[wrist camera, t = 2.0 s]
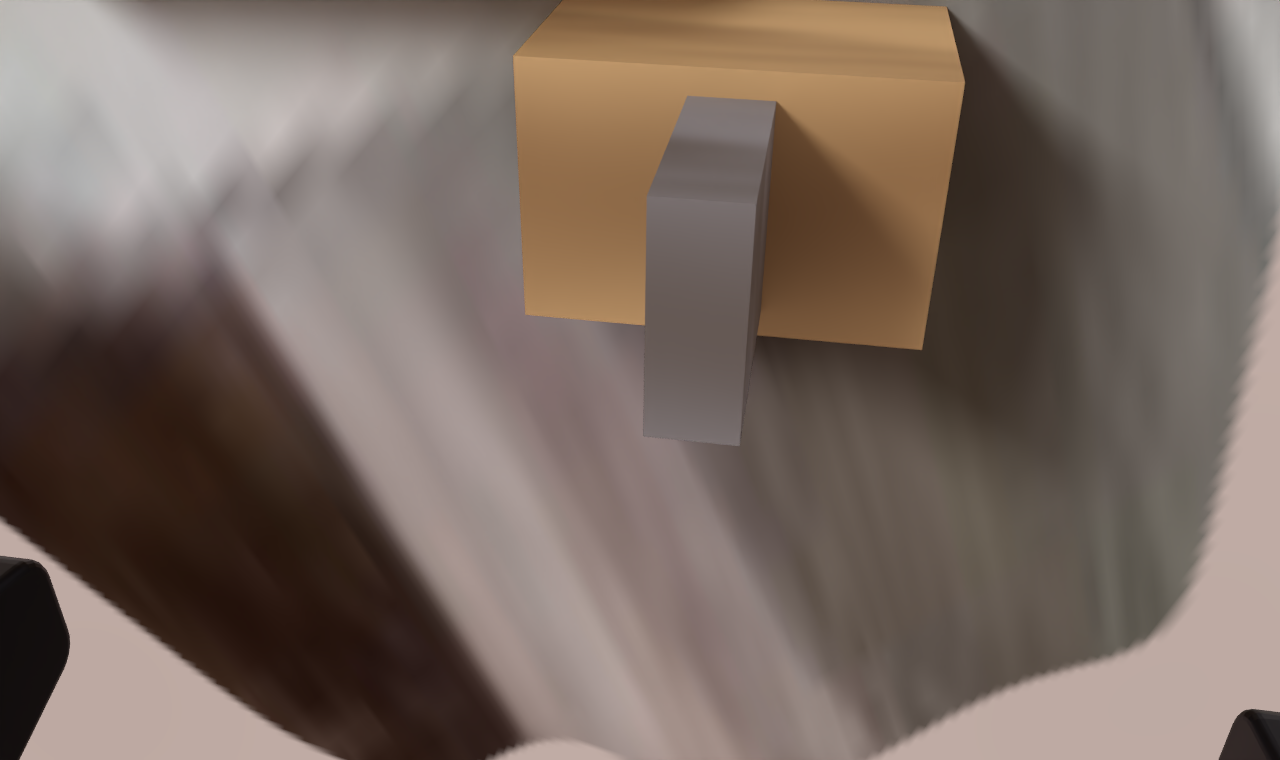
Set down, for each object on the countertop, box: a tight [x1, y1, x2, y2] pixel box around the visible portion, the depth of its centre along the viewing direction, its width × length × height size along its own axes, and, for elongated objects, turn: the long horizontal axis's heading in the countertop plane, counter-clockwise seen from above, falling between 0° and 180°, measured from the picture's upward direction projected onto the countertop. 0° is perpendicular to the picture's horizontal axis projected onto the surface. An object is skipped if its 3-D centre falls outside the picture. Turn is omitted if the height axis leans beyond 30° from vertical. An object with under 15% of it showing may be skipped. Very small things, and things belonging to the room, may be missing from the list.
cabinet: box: [513, 0, 965, 446], centre depth 17 cm, size 4×6×8 cm
